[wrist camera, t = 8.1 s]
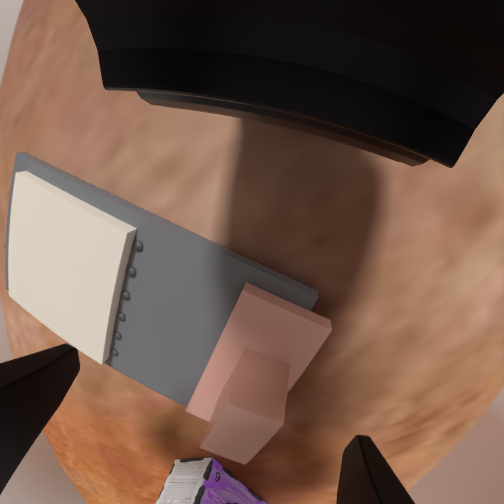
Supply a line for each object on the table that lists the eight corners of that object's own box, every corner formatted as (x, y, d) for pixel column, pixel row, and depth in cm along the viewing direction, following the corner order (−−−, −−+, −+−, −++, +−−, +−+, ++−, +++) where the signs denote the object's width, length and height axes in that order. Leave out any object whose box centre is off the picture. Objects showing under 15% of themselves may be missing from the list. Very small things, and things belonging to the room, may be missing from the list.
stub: (330, 319, 18) (338, 387, 12) (253, 427, 22) (239, 487, 16) (246, 282, 18) (220, 338, 12) (189, 401, 22) (162, 458, 16)
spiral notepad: (147, 233, 18) (137, 238, 17) (116, 361, 22) (109, 369, 21) (26, 170, 19) (15, 172, 17) (17, 290, 23) (9, 295, 21)
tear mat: (318, 290, 19) (318, 297, 18) (236, 419, 23) (234, 427, 22) (24, 152, 19) (16, 153, 18) (12, 285, 24) (6, 289, 23)
